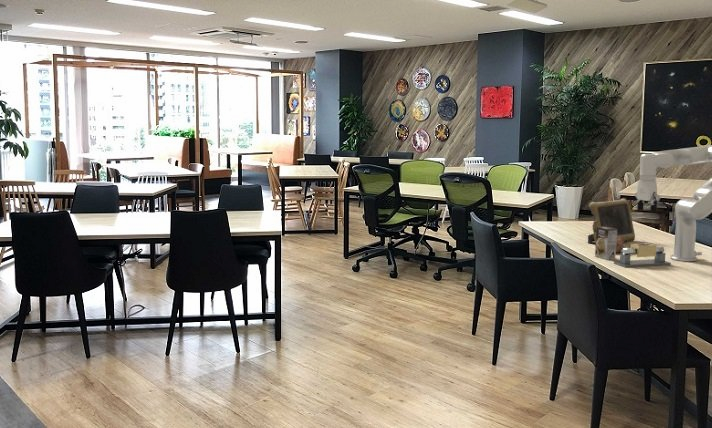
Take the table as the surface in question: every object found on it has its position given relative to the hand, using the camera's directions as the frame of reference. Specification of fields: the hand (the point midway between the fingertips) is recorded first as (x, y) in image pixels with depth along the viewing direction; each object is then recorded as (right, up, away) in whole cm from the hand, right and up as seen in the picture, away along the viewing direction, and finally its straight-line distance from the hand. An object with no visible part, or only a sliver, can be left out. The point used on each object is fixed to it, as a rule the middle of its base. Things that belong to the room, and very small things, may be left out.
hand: (646, 211), depth 337 cm
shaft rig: (-5, -27, -6) cm, 28 cm away
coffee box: (-18, -25, +9) cm, 32 cm away
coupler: (-5, -22, -7) cm, 24 cm away
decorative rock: (-7, -22, +26) cm, 35 cm away
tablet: (+2, -18, +54) cm, 57 cm away
